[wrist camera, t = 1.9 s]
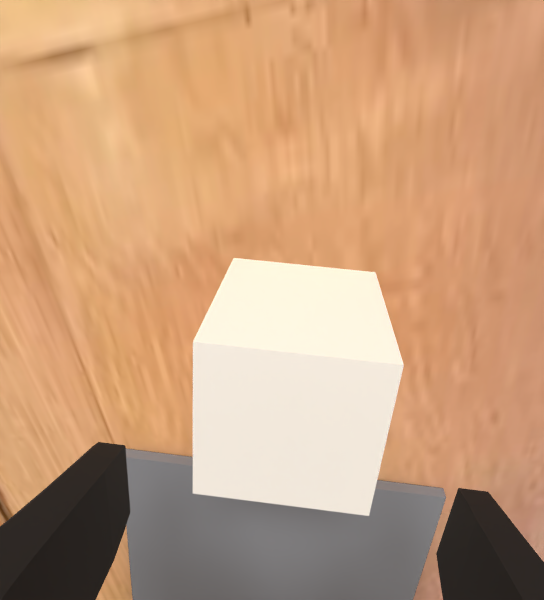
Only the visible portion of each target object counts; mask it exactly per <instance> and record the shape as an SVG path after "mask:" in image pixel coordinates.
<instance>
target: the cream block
mask: <svg viewBox="0 0 544 600" xmlns="http://www.w3.org/2000/svg"><path fill="white" fill-rule="evenodd" d="M403 366H404V364H403V361H402V358H401V355H400V351H399V348H398V345H397V342H396V338H395V335H394V332H393V328H392V325H391V322H390V319H389V315H388V312H387V309H386V306H385V302H384V299H383V296H382V293H381V289H380V286H379V283H378V279H377V276H376V273H375V272H367V271H357V270H347V269H337V268H327V267H318V266H308V265H298V264H288V263H278V262H269V261H259V260H249V259H239V258H234V259H233V261H232V263H231V265H230V267H229V269H228V271H227V273H226V275H225V277H224V279H223V281H222V283H221V285H220V287H219V289H218V291H217V294H216V296H215V298H214V300H213V302H212V304H211V306H210V308H209V310H208V312H207V314H206V316H205V318H204V320H203V322H202V324H201V326H200V328H199V330H198V332H197V335H196V337H195V339H194V341H193V494H201V495H208V496H216V497H224V498H232V499H240V500H248V501H255V502H263V503H271V504H279V505H287V506H295V507H302V508H310V509H318V510H326V511H334V512H342V513H349V514H357V515H365V516H369V514H370V509H371V505H372V500H373V496H374V492H375V487H376V483H377V479H378V474H379V470H380V466H381V461H382V457H383V453H384V448H385V444H386V440H387V435H388V431H389V427H390V422H391V418H392V414H393V409H394V405H395V401H396V396H397V392H398V388H399V383H400V379H401V375H402V370H403Z"/></svg>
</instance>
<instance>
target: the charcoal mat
mask: <svg viewBox="0 0 544 600" xmlns="http://www.w3.org/2000/svg"><path fill="white" fill-rule="evenodd" d="M126 461H127V474H128V487H129V499H130V515H129V518H128V521H127V536H128V548H129V560H130V573H131V585H132V597H133V600H413V598H414V595H415V592H416V589H417V586H418V583H419V579H420V576H421V573H422V570H423V567H424V564H425V561H426V558H427V555H428V552H429V549H430V546H431V542H432V539H433V536H434V533H435V530H436V527H437V524H438V521H439V518H440V515H441V512H442V508H443V505H444V502H445V499H446V496H445V493H444V490H443V488H436V487H428V486H420V485H412V484H404V483H396V482H388V481H380V480H377V483H376V487H375V492H374V496H373V500H372V505H371V509H370V514H369V516H365V515H357V514H349V513H342V512H334V511H326V510H318V509H310V508H302V507H295V506H287V505H279V504H271V503H263V502H255V501H248V500H240V499H232V498H224V497H216V496H208V495H201V494H193V457H188V456H180V455H172V454H164V453H156V452H148V451H140V450H132V449H126Z"/></svg>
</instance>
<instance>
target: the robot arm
mask: <svg viewBox="0 0 544 600" xmlns="http://www.w3.org/2000/svg"><path fill="white" fill-rule="evenodd" d="M129 515H130V499H129V487H128V474H127V461H126V448H125V445H117V444H109V443H101V442H98V443H97V444H95V445H94V446H93V447H92V448H91V449H89V450H88V451H87V452H86V453H85V454H84V455H83V456H82V457H80V458H79V459H78V460H77V461H76V462H75V463H74V464H73V465H71V466H70V467H69V468H68V469H67V470H66V471H65V472H64V473H63V474H61V475H60V476H59V477H58V478H57V479H56V480H55V481H53V482H52V483H51V484H50V485H49V486H48V487H47V488H45V489H44V490H43V491H42V492H41V493H40V494H39V495H37V496H36V497H35V498H34V499H33V500H31V501H30V502H29V503H28V504H27V505H26V506H24V507H23V508H22V509H21V510H20V511H18V512H17V513H16V514H15V515H14V516H13V517H11V518H10V519H9V520H8V521H6V522H5V523H4V524H3V525H2V526H0V600H95V599H96V597H97V595H98V593H99V591H100V589H101V587H102V584H103V582H104V580H105V578H106V576H107V574H108V572H109V569H110V567H111V565H112V563H113V561H114V558H115V555H116V553H117V550H118V547H119V544H120V541H121V539H122V536H123V533H124V530H125V527H126V524H127V521H128V518H129ZM437 561H438V568H439V575H440V582H441V588H442V594H443V600H544V562H543V561H542V560H541V558H540V557H539V556H538V555H537V553H536V552H535V551H534V549H533V548H532V547H531V546H530V544H529V543H528V542H527V541H526V539H525V538H524V537H523V536H522V534H521V533H520V532H519V531H518V529H517V528H516V527H515V525H514V524H513V523H512V522H511V520H510V519H509V518H508V517H507V515H506V514H505V513H504V511H503V510H502V509H501V508H500V506H499V505H498V504H497V503H496V501H495V500H494V499H493V498H492V496H491V495H490V494H489V493H488V492H485V491H477V490H469V489H461V488H458V491H457V494H456V497H455V500H454V503H453V506H452V509H451V512H450V515H449V518H448V521H447V524H446V527H445V530H444V533H443V536H442V539H441V542H440V545H439V548H438V551H437Z"/></svg>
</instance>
